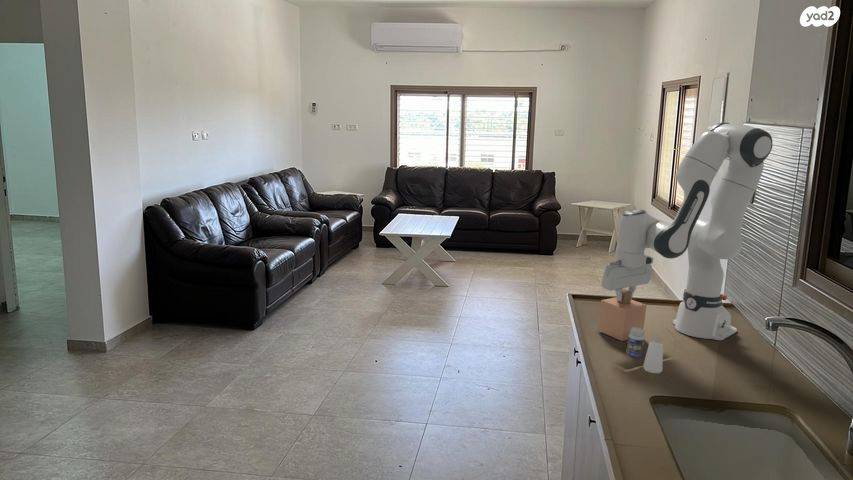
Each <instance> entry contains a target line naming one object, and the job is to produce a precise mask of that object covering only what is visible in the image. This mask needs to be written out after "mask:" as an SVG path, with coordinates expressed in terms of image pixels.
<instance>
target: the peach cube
mask: <svg viewBox="0 0 853 480" xmlns="http://www.w3.org/2000/svg"><path fill="white" fill-rule="evenodd" d="M621 293H622V295H623V296H624V298H623V300H622V301H618V300H616V297H615V296H614V297H611V298H607V299H606V298H605V299H601V300H600V301H601V302H600V307H599V308H600V310H599V317H598V327H597V331H600V332H602V333H605V334H607V335H609V336H611V337H614V338H616V339H618V340H621V341H624V340H628V337H629V334H631V333H630V331H631V328H634V327H635V328H641V329H643V330H644V327H645V322H646V321H645V319H646V312H647V304H645V303H643V302H639V301H636V300H634V299H631V294H632V292H631V291H628V289H626V288H623V291H621Z"/></svg>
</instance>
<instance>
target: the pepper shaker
mask: <svg viewBox="0 0 853 480" xmlns="http://www.w3.org/2000/svg"><path fill="white" fill-rule="evenodd" d="M662 340H663V335H662V334H661V333H652V334H651V341H649V343H648V347H647V351H646V354H645V358H644V362H643V366H642V368H643V370H645V372H648V373H650V374H651V373H652V374H660V373H662V372H663V357H664V344H663V343H662Z"/></svg>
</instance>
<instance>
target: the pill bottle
mask: <svg viewBox="0 0 853 480" xmlns="http://www.w3.org/2000/svg"><path fill="white" fill-rule="evenodd" d="M630 333H631V334H629V337H628V342H627V343H626V344H627V345H626V352H625V353H626V354H627V355H629V356H630V357H631V356H632V357H642V356H643V350H644V344H645V330H644V328H643V329H641V328H635V327H634V328H631V331H630Z"/></svg>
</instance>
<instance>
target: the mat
mask: <svg viewBox="0 0 853 480" xmlns="http://www.w3.org/2000/svg"><path fill="white" fill-rule="evenodd" d="M594 333H595V334H597V335H599V336H602V337H604V338H606V339H608V340H611V341H613V342H615V343H618V344H620V345H622V344H628V340H624V341H621V340H618V339H616V338H614V337H611V336H609V335H607V334H605V333H602V332H600V331H598V330H596V331H594Z"/></svg>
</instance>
